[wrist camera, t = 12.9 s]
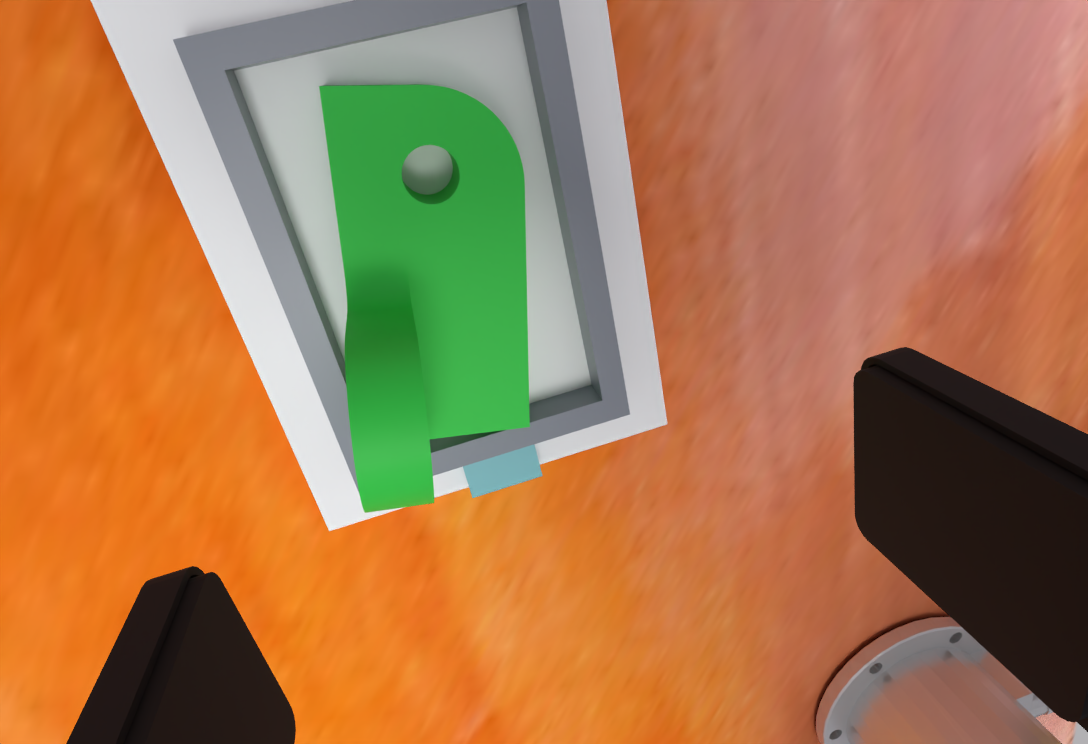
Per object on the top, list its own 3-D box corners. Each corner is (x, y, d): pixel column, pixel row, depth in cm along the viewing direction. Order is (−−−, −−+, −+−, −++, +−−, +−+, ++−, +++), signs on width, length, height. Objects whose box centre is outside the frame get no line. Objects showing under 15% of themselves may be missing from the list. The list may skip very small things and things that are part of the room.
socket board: (577, -113, 21) (604, -138, 19) (656, 412, 30) (681, 440, 28) (97, -15, 20) (59, -29, 17) (330, 514, 28) (327, 554, 26)
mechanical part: (519, 404, 27) (572, 520, 20) (367, 421, 26) (367, 552, 19) (510, 83, 22) (577, 86, 15) (323, 85, 21) (299, 89, 14)
